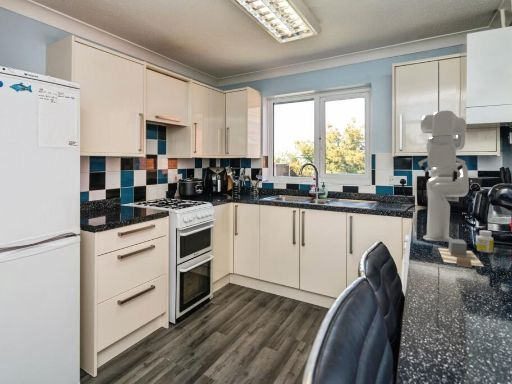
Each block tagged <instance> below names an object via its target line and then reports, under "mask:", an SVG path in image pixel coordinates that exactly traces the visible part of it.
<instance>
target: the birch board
mask: <svg viewBox="0 0 512 384" xmlns="http://www.w3.org/2000/svg"><path fill="white" fill-rule="evenodd" d="M437 249H438V251H439V253H440V256H441V258H442V261H443V262H444V263H450V264H457V263H456V261H457V258H464V259H470V260H471V264H472V266H476V267H485V266H484V264H483V263H482V261H481V260H479V258H478V257H477V256H476V254H475V253H474V252H473V251H472V250H467V252H466V257H463V256H454V255H451V254H450V252H449V248H444V247H443V248H441V247H438V248H437Z"/></svg>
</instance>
